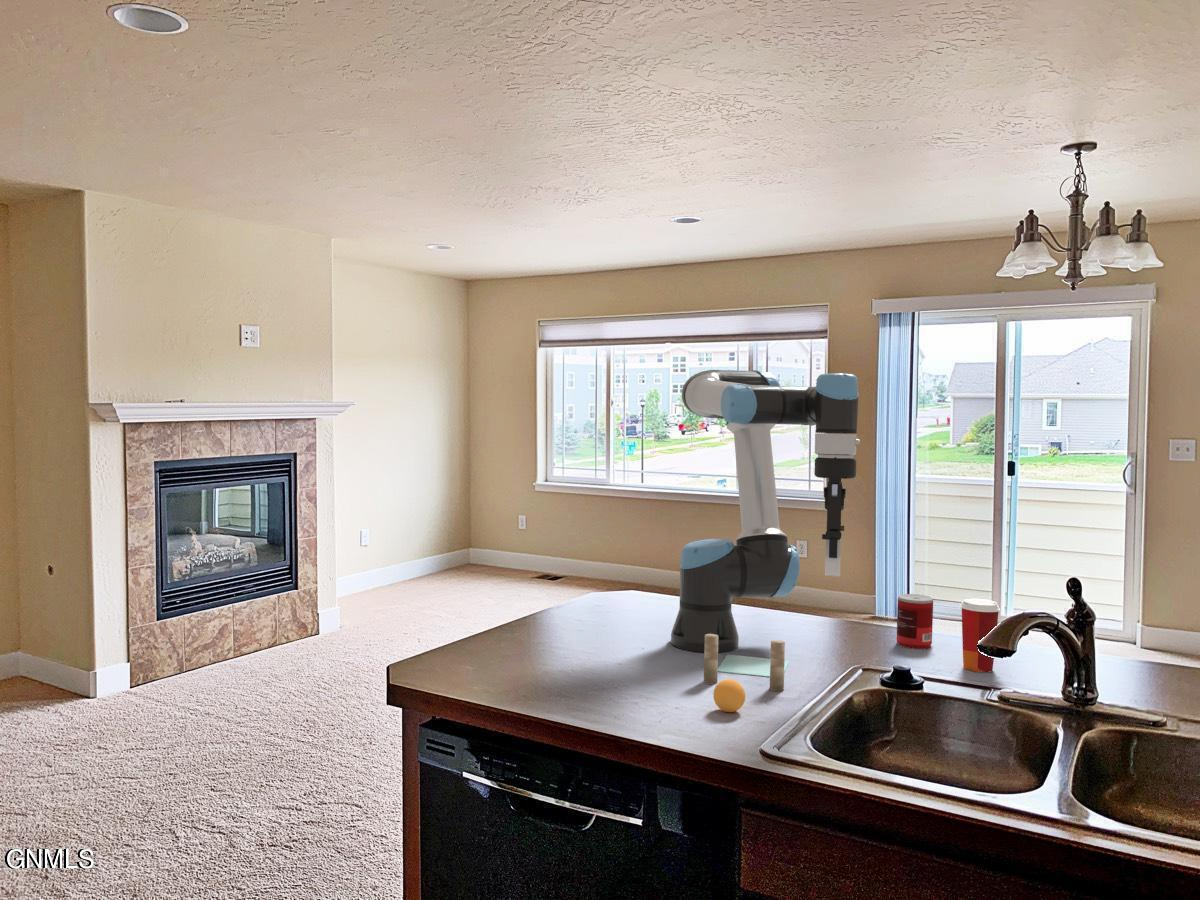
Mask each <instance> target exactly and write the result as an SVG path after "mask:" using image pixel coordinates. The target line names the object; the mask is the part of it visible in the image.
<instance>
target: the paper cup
mask: <svg viewBox="0 0 1200 900" xmlns="http://www.w3.org/2000/svg"><path fill="white" fill-rule="evenodd" d="M960 603H961V604H960V605H959V606H958V607H959V608H961V636H962V637H961V638H962V663H963V669H965V670H967V671H970V672H976V673H991V672H993V671H994V670H993V669H994V661H995V657H994V658H991V657H988V656H985V655H983V654H981V653H980V652H979V651H978V648H977V644H978V641H979V640H981V639H982V638H983V637H985V636H986V635H987V634H988V633H989V632H990V631H991V630H992V629H993V628H994V627H995V626H997V627H998V623H999V622H998V619H999V612H1000V611H1001V609H1000V607H999V604H998V602H997V601H994V600H990V599H983V598H965V599H963V600H962V601H961V602H960ZM990 671H991V672H990Z"/></svg>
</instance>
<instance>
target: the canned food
mask: <svg viewBox="0 0 1200 900" xmlns="http://www.w3.org/2000/svg"><path fill="white" fill-rule="evenodd" d="M896 614H897V615H896V618H897V619H896V643H897V644H898V645H899V646H900V647H903V648H906V647H907V648H906V649H912V648H913V649H916V650H925V649H924V648H926V649H929V648H931V646H932V643H933V624H934V623H933V621H934V618H933V617H934V598H933V597H931V596H928V595H924V594H915V593H902V594H899V595H898V596H897V612H896Z"/></svg>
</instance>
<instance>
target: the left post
mask: <svg viewBox="0 0 1200 900" xmlns="http://www.w3.org/2000/svg"><path fill="white" fill-rule="evenodd" d="M703 653H704V657H703V682H704V684H708V685H713V684H718V668H719V665H718V664H719V662H718V661H719V652H718V635H716V634H706V635H705V648H704V652H703Z"/></svg>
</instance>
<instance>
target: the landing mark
mask: <svg viewBox="0 0 1200 900" xmlns="http://www.w3.org/2000/svg"><path fill="white" fill-rule="evenodd" d="M789 663H790V660H786V659H784V674H785V672H786V670H787V668H788V665H789ZM718 672H719V673H726V674H728V673H729V674H736V675H738V674H739V675H746V676H756V677H757V676H758V677H763V678H764V677H765V678H767V677H768V678H770V658H765V657H757V656H756V657H755V656H745V655H739V654H738V655H736V654H727V655H726V656H725V658H724V659H723V660H722V662H721V663H720V665H718ZM718 672H717V673H718Z"/></svg>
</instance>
